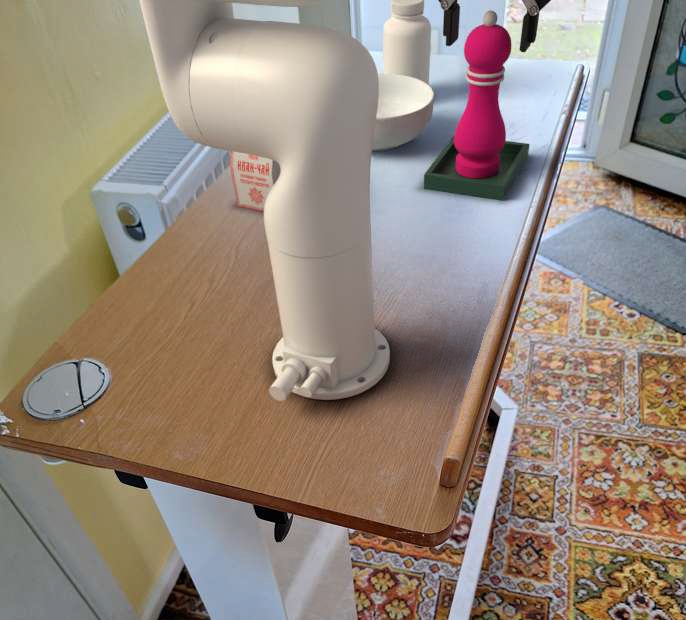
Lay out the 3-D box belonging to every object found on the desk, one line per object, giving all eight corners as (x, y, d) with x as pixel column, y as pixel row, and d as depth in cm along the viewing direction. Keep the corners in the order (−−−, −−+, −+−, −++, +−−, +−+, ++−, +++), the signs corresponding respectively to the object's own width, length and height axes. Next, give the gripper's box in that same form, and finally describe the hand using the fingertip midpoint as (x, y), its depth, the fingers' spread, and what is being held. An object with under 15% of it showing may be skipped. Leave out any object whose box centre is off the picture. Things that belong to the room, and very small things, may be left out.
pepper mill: (500, 181, 95) (519, 19, 80) (449, 179, 96) (459, 20, 81) (503, 158, 100) (521, 1, 85) (454, 157, 101) (464, 2, 86)
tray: (502, 200, 93) (504, 186, 91) (423, 188, 96) (424, 174, 95) (527, 157, 101) (529, 143, 99) (453, 148, 104) (454, 134, 103)
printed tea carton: (251, 194, 99) (239, 124, 91) (290, 202, 96) (281, 130, 89) (237, 205, 97) (224, 135, 89) (277, 214, 94) (267, 142, 87)
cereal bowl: (313, 160, 105) (309, 113, 99) (343, 116, 115) (341, 71, 110) (420, 168, 101) (421, 119, 95) (441, 122, 111) (443, 75, 106)
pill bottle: (430, 106, 116) (433, 4, 104) (383, 109, 116) (382, 8, 105) (427, 88, 121) (430, -10, 110) (382, 91, 121) (381, -7, 110)
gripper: (416, -123, 74) (414, 50, 87) (576, -124, 68) (548, 61, 81) (439, -135, 78) (433, 31, 91) (591, -137, 73) (562, 41, 86)
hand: (487, 45), depth 86 cm, fingers open, 9 cm apart
